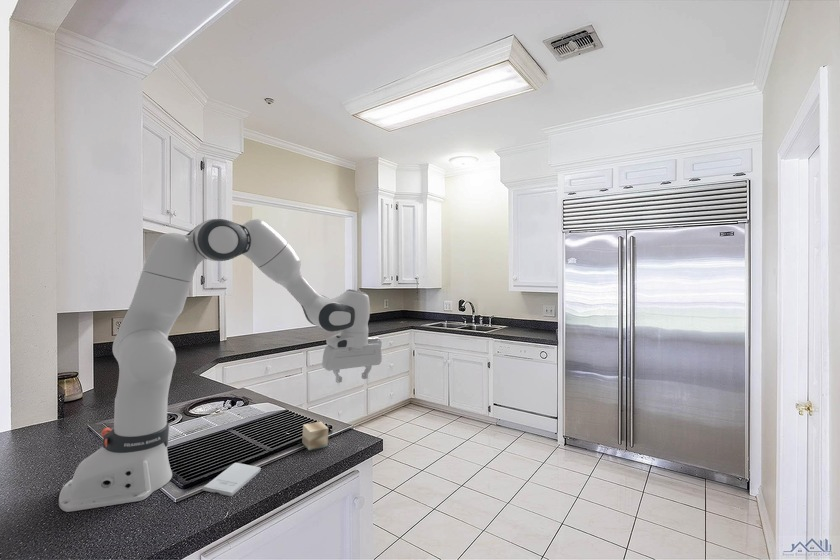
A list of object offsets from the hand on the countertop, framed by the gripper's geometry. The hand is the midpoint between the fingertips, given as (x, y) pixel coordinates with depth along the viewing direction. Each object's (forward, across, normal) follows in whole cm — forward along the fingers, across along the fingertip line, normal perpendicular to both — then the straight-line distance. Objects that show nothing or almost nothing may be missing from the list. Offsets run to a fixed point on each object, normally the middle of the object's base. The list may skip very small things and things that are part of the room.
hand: (351, 380), depth 136 cm
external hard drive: (+20, +38, +9) cm, 44 cm away
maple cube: (+20, +12, 0) cm, 23 cm away
